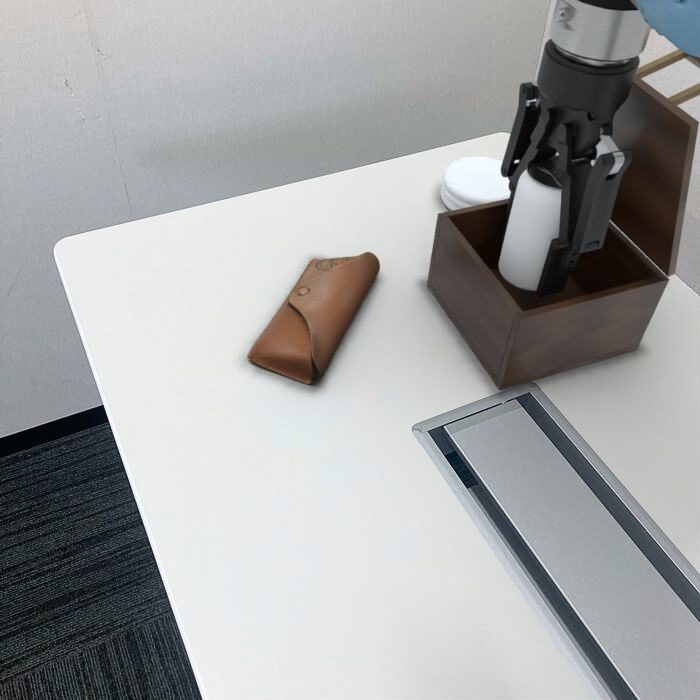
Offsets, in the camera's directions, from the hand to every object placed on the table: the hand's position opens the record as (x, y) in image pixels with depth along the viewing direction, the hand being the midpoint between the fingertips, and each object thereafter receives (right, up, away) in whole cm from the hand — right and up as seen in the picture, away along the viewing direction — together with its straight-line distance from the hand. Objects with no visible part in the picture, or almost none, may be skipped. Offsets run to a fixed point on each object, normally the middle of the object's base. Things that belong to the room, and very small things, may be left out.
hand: (530, 268), depth 76 cm
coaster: (-2, +11, +20) cm, 23 cm away
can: (0, -1, +1) cm, 1 cm away
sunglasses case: (-22, -5, +4) cm, 23 cm away
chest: (+1, -5, +6) cm, 7 cm away
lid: (+7, +10, -6) cm, 13 cm away
